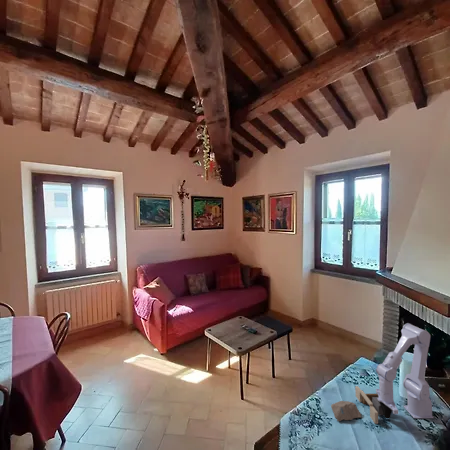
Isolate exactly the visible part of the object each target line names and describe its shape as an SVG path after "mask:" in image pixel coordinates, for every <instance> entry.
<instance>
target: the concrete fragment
mask: <svg viewBox="0 0 450 450" xmlns="http://www.w3.org/2000/svg"><path fill="white" fill-rule="evenodd" d="M330 406H331V410H332V412H333V415H334V418H335V419H336V421H337V422H338V421H339V422H341V421H343V420H344V421H352V420H353V419H356V418H362V413H361V412H360V410H359V409H358V407H357V404H356V403H354V402H352V401H349V400H346V401H344V400H339V401H337V402H334V403H331V405H330Z"/></svg>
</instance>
